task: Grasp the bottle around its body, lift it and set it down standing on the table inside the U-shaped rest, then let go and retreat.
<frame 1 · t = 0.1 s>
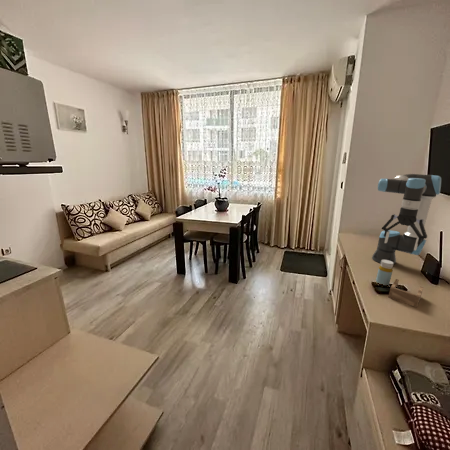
hand: (399, 246, 134), 28 cm above the table, fingers open, 13 cm apart
u rest: (404, 297, 136), on the table
bottle: (381, 284, 149), on the table
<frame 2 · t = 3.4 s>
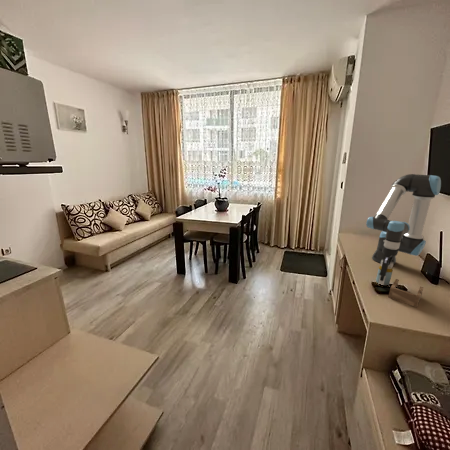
hand: (382, 282, 149), 1 cm above the table, fingers closed on bottle, 7 cm apart
bottle: (381, 284, 149), on the table, touching gripper
when the fingers open (1 cm above the table, at t = 11.0 s): bottle stays where it is, on the table.
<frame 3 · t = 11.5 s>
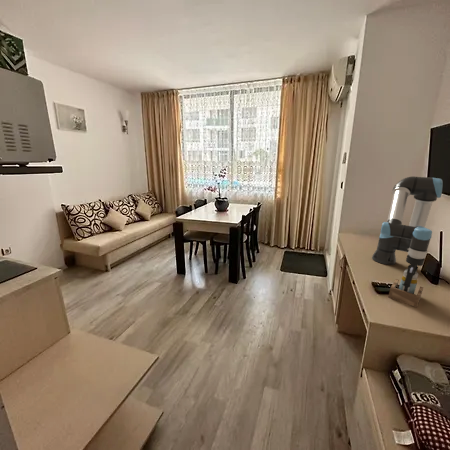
hand: (406, 291, 137), 2 cm above the table, fingers open, 12 cm apart
bottle: (404, 296, 137), on the table
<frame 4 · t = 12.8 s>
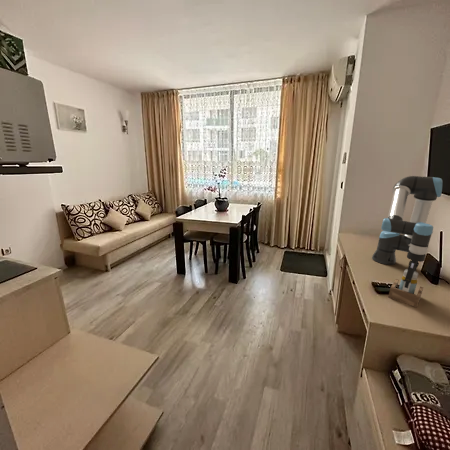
hand: (407, 287, 136), 5 cm above the table, fingers open, 13 cm apart
nothing on the table moved.
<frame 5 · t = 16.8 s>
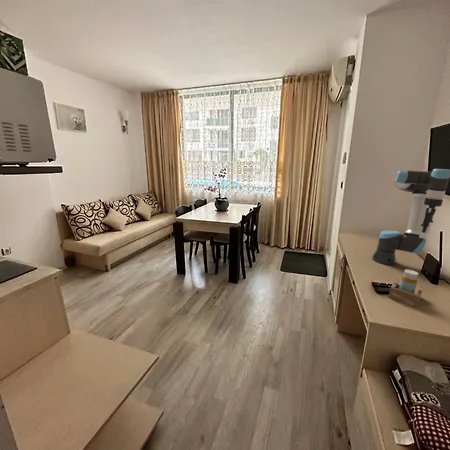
hand: (423, 235, 138), 33 cm above the table, fingers open, 13 cm apart
nothing on the table moved.
at the end: bottle inside the target area on the u rest (0.2 cm from its centre), point 0.0 cm above the u rest's base; bottle tilted 0°; the gripper is holding nothing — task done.
